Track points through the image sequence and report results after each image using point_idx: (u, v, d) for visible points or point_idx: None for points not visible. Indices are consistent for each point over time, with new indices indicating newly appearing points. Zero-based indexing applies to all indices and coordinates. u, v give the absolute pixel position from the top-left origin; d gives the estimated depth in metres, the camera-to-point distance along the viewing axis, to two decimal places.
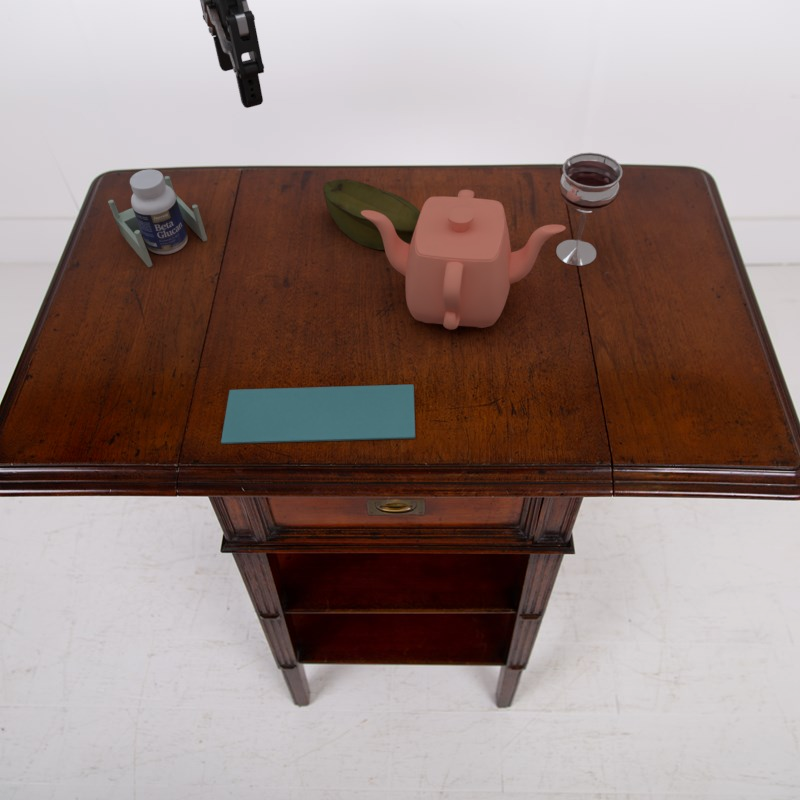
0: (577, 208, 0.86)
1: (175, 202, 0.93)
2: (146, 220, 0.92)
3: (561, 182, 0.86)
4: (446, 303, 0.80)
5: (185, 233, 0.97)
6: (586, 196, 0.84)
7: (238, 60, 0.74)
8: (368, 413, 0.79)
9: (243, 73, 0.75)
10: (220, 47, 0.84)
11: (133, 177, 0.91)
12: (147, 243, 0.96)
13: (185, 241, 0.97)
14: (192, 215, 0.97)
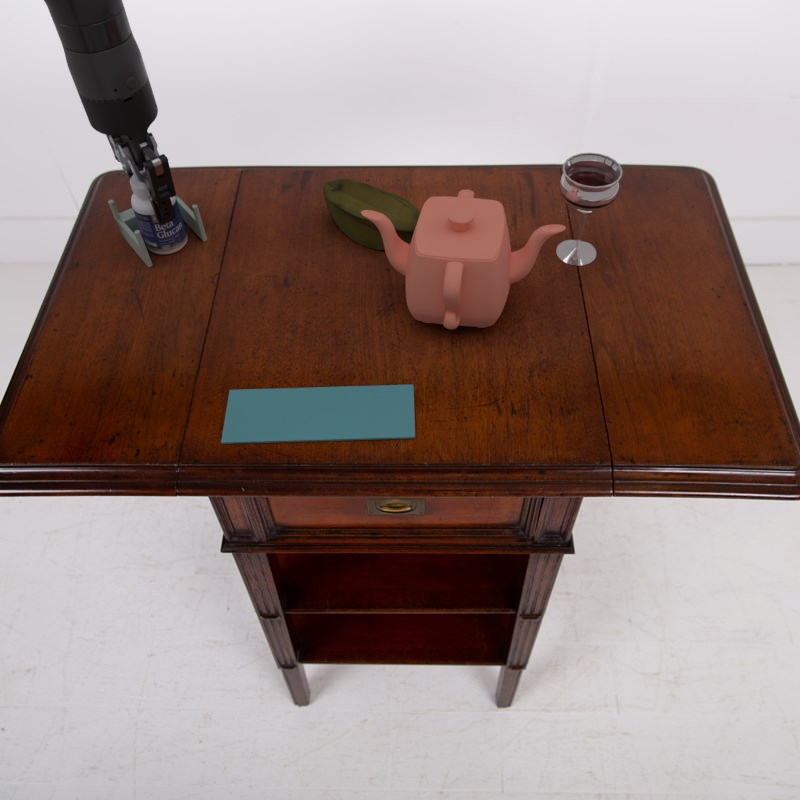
0: (577, 208, 0.86)
1: (175, 202, 0.93)
2: (146, 220, 0.92)
3: (561, 182, 0.86)
4: (446, 303, 0.80)
5: (185, 233, 0.97)
6: (586, 196, 0.84)
7: (155, 193, 0.86)
8: (368, 413, 0.79)
9: (159, 199, 0.87)
10: None
11: (133, 177, 0.91)
12: (147, 243, 0.96)
13: (185, 241, 0.97)
14: (192, 215, 0.97)
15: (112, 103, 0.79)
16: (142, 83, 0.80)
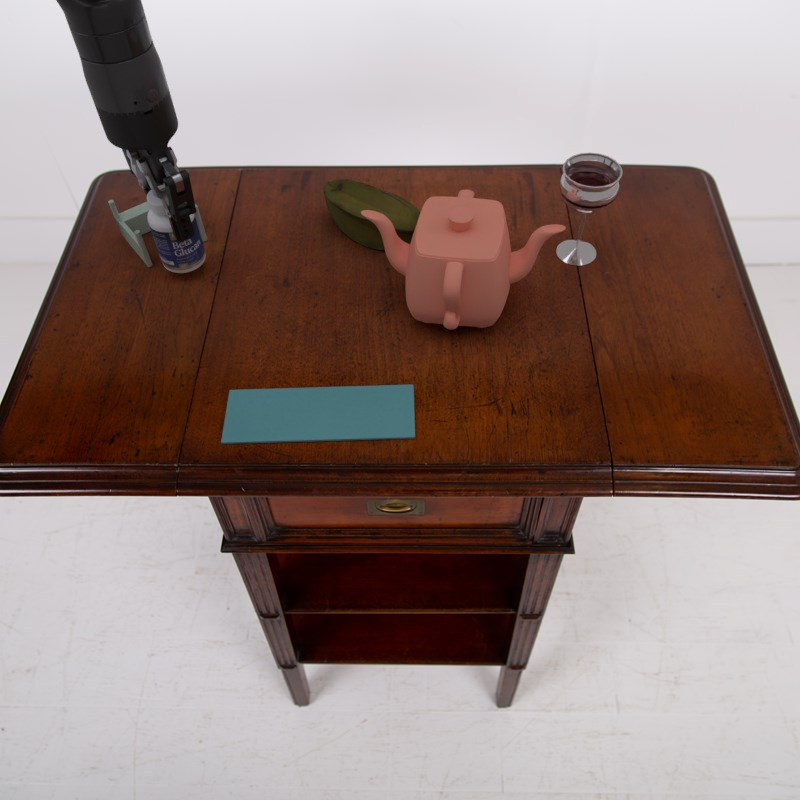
0: (577, 208, 0.86)
1: (194, 219, 0.89)
2: (164, 237, 0.88)
3: (561, 182, 0.86)
4: (446, 303, 0.80)
5: (203, 251, 0.93)
6: (586, 196, 0.84)
7: (175, 210, 0.81)
8: (368, 413, 0.79)
9: (178, 217, 0.82)
10: None
11: (150, 193, 0.86)
12: (163, 261, 0.91)
13: (203, 259, 0.93)
14: None
15: (132, 116, 0.75)
16: (163, 95, 0.76)
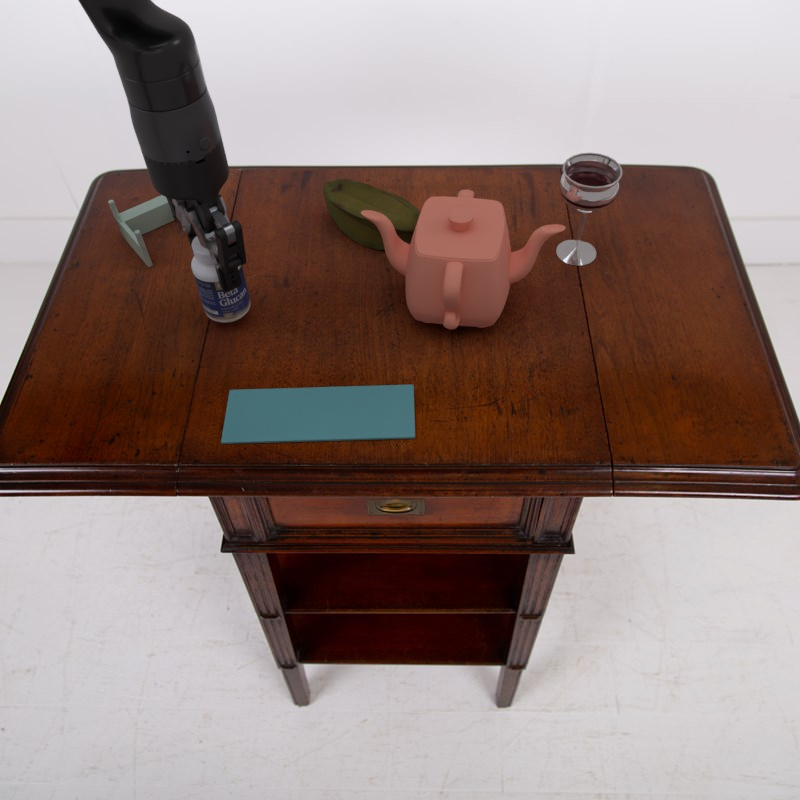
0: (577, 208, 0.86)
1: (240, 266, 0.83)
2: (209, 287, 0.82)
3: (561, 182, 0.86)
4: (446, 303, 0.80)
5: (248, 298, 0.87)
6: (586, 196, 0.84)
7: (225, 262, 0.76)
8: (368, 413, 0.79)
9: (228, 269, 0.77)
10: None
11: (195, 240, 0.81)
12: (207, 310, 0.86)
13: (248, 307, 0.87)
14: None
15: (183, 166, 0.69)
16: (216, 142, 0.70)
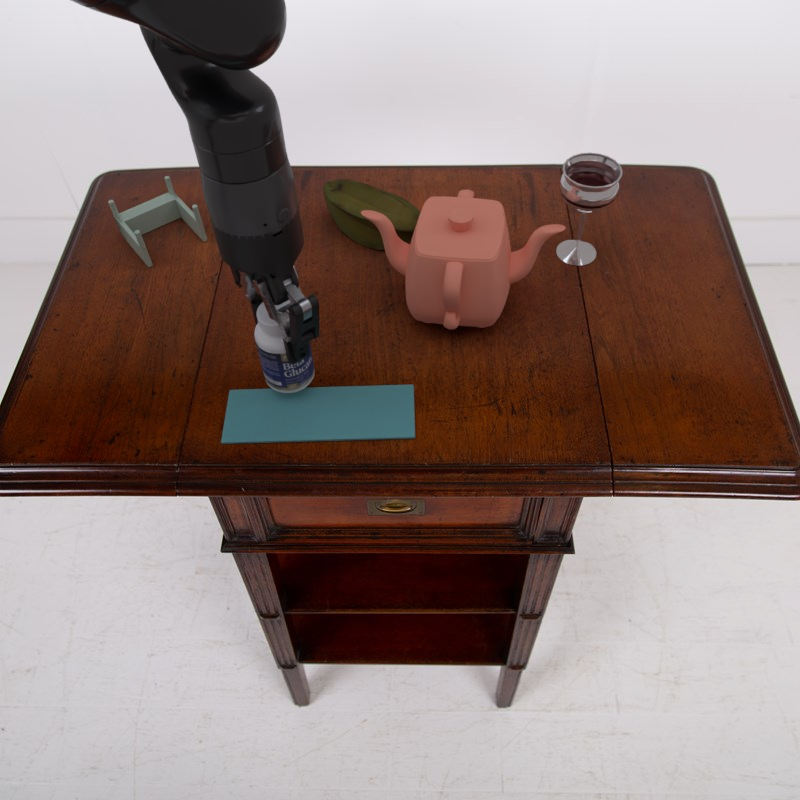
0: (577, 208, 0.86)
1: None
2: (274, 358, 0.75)
3: (561, 182, 0.86)
4: (446, 303, 0.80)
5: (313, 366, 0.80)
6: (586, 196, 0.84)
7: (297, 338, 0.69)
8: (368, 413, 0.79)
9: (300, 344, 0.70)
10: None
11: (260, 309, 0.74)
12: (269, 380, 0.79)
13: (313, 376, 0.80)
14: (192, 215, 0.97)
15: (259, 240, 0.62)
16: (294, 212, 0.63)
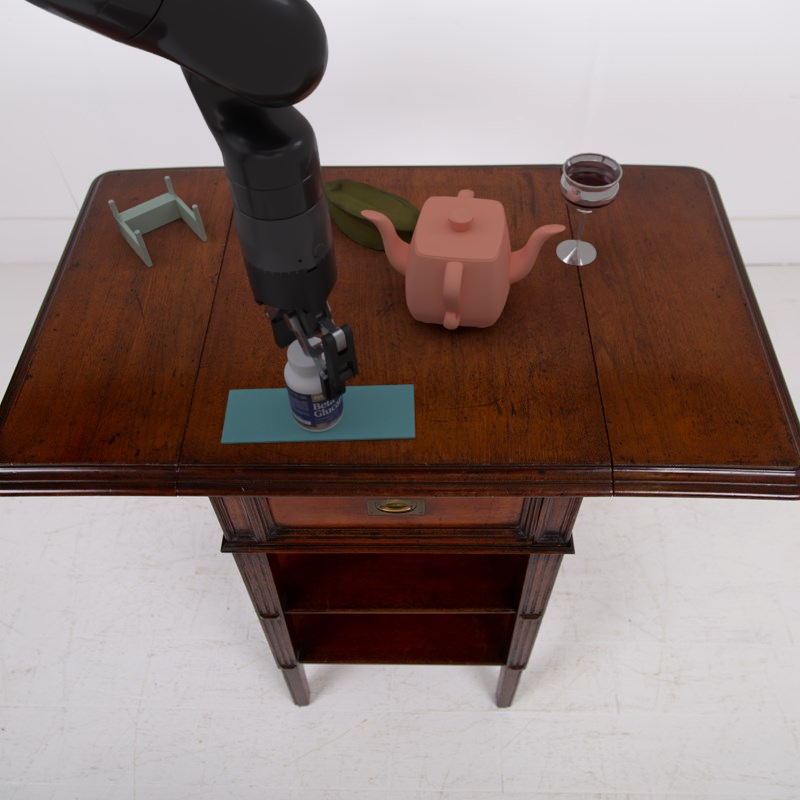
0: (577, 208, 0.86)
1: None
2: (304, 399, 0.74)
3: (561, 182, 0.86)
4: (446, 303, 0.80)
5: (342, 404, 0.78)
6: (586, 196, 0.84)
7: (334, 374, 0.65)
8: (368, 413, 0.79)
9: (339, 383, 0.66)
10: (279, 329, 0.74)
11: (291, 349, 0.72)
12: (298, 419, 0.77)
13: (342, 414, 0.79)
14: (192, 215, 0.97)
15: (293, 275, 0.60)
16: (329, 246, 0.61)
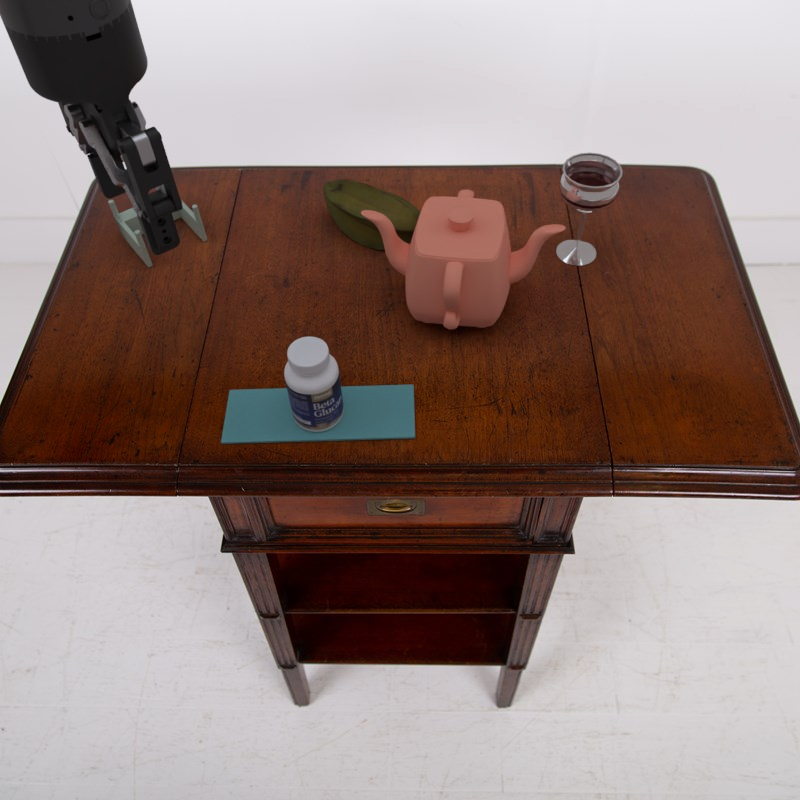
0: (577, 208, 0.86)
1: (338, 375, 0.75)
2: (304, 399, 0.74)
3: (561, 182, 0.86)
4: (446, 303, 0.80)
5: (342, 404, 0.78)
6: (586, 196, 0.84)
7: (144, 200, 0.49)
8: (368, 413, 0.79)
9: (153, 216, 0.50)
10: (100, 168, 0.58)
11: (291, 349, 0.72)
12: (298, 419, 0.77)
13: (342, 414, 0.79)
14: (192, 215, 0.97)
15: (65, 43, 0.44)
16: (120, 9, 0.45)
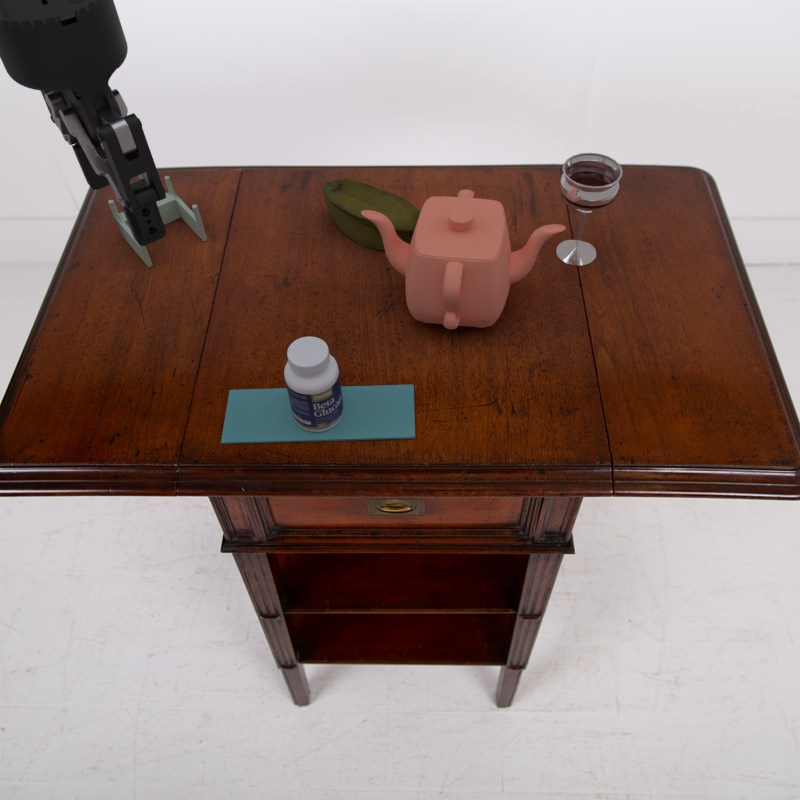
0: (577, 208, 0.86)
1: (338, 375, 0.75)
2: (304, 399, 0.74)
3: (561, 182, 0.86)
4: (446, 303, 0.80)
5: (342, 404, 0.78)
6: (586, 196, 0.84)
7: (125, 189, 0.48)
8: (368, 413, 0.79)
9: (135, 205, 0.49)
10: (85, 159, 0.57)
11: (291, 349, 0.72)
12: (298, 419, 0.77)
13: (342, 414, 0.79)
14: (192, 215, 0.97)
15: (40, 28, 0.43)
16: None
